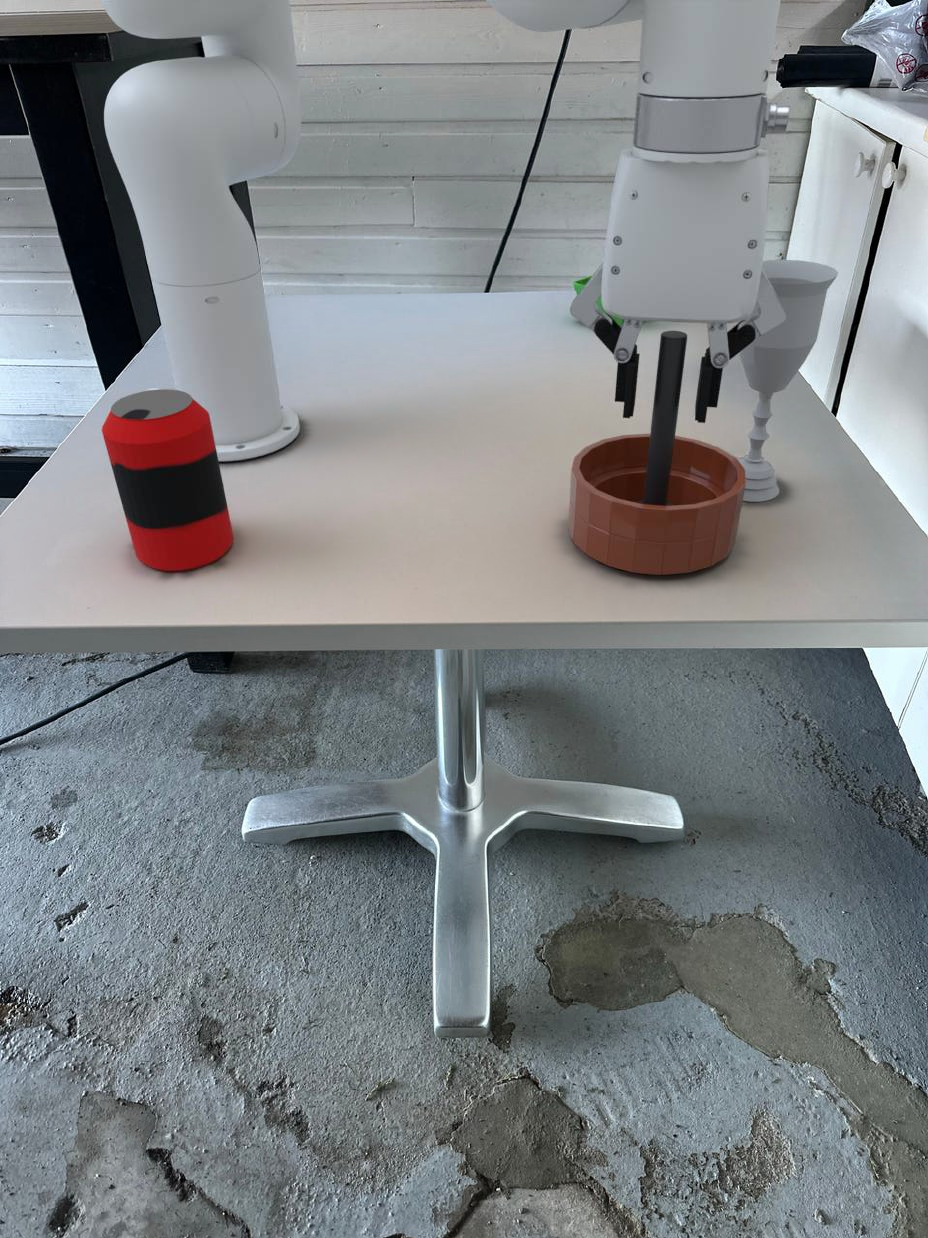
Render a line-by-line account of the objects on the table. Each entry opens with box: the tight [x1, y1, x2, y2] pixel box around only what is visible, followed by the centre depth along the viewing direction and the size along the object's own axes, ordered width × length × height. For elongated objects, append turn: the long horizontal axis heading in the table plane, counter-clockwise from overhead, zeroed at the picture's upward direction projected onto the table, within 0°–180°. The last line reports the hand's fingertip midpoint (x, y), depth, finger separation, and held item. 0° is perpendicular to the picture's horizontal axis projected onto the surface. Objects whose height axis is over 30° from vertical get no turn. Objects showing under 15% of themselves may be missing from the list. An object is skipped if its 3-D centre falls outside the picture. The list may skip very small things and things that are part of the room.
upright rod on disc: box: [635, 330, 688, 506], centre depth 66 cm, size 5×5×16 cm
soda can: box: [101, 388, 234, 572], centre depth 67 cm, size 8×8×12 cm
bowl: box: [567, 433, 746, 576], centre depth 69 cm, size 13×13×6 cm
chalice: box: [736, 259, 839, 503], centre depth 72 cm, size 7×7×18 cm
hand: (664, 410), depth 64 cm, fingers open, 4 cm apart
